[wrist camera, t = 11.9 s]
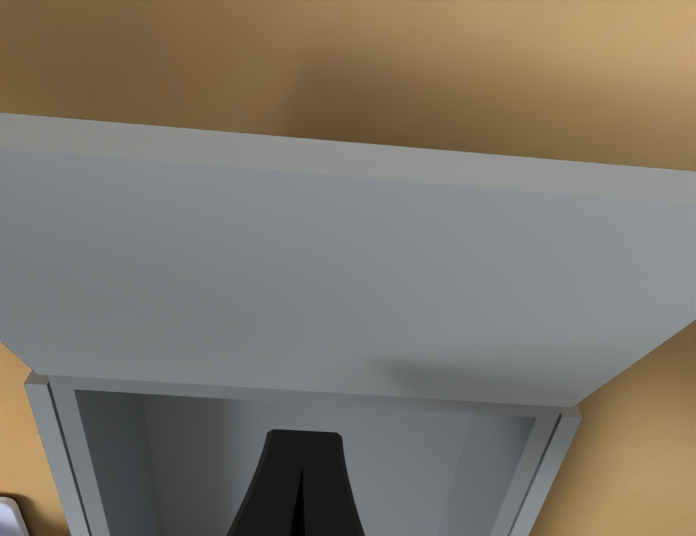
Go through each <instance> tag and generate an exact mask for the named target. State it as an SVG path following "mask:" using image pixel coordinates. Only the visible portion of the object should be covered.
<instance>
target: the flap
mask: <svg viewBox="0 0 696 536" xmlns="http://www.w3.org/2000/svg"><path fill="white" fill-rule="evenodd" d="M695 320H696V171H685V170H674V169H662V168H650V167H638V166H626V165H614V164H603V163H591V162H579V161H567V160H555V159H543V158H532V157H520V156H508V155H496V154H484V153H473V152H461V151H449V150H437V149H425V148H413V147H402V146H390V145H378V144H366V143H354V142H342V141H331V140H319V139H307V138H295V137H283V136H272V135H260V134H248V133H236V132H224V131H212V130H201V129H189V128H177V127H165V126H153V125H141V124H130V123H118V122H106V121H94V120H82V119H71V118H59V117H47V116H35V115H23V114H11V113H0V341H1V342H2V343H3V344H4V345H5V346H7V347H8V348H9V349H10V350H11V351H12V352H13V353H14V354H15V355H17V356H18V357H19V358H20V359H21V360H22V361H23V362H24V363H25V364H27V365H28V366H29V367H30V368H31V369H32V370H33V371H34V372H35V373H37V374H41V375H57V376H73V377H89V378H105V379H121V380H137V381H153V382H170V383H186V384H202V385H218V386H234V387H250V388H266V389H282V390H298V391H314V392H330V393H346V394H362V395H378V396H394V397H410V398H427V399H443V400H459V401H475V402H491V403H507V404H523V405H539V406H555V407H571V408H572V407H573V406H575V405H576V404H578V403H579V402H580V401H582V400H583V399H585V398H586V397H587V396H589V395H590V394H592V393H593V392H595V391H596V390H597V389H599V388H600V387H602V386H603V385H604V384H606V383H607V382H609V381H610V380H611V379H613V378H614V377H616V376H617V375H618V374H620V373H621V372H623V371H624V370H626V369H627V368H628V367H630V366H631V365H633V364H634V363H635V362H637V361H638V360H640V359H641V358H642V357H644V356H645V355H647V354H648V353H650V352H651V351H652V350H654V349H655V348H657V347H658V346H659V345H661V344H662V343H664V342H665V341H666V340H668V339H669V338H671V337H672V336H673V335H675V334H676V333H678V332H679V331H681V330H682V329H683V328H685V327H686V326H688V325H689V324H690V323H692V322H693V321H695Z"/></svg>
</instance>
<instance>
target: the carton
mask: <svg viewBox="0 0 696 536" xmlns="http://www.w3.org/2000/svg"><path fill="white" fill-rule="evenodd" d="M24 386H25V389H26V392H27V396H28V399H29V402H30V405H31V408H32V412H33V415H34V418H35V421H36V424H37V428H38V431H39V434H40V437H41V440H42V444H43V447H44V450H45V453H46V456H47V460H48V463H49V466H50V469H51V472H52V475H53V479H54V482H55V485H56V488H57V491H58V495H59V498H60V501H61V504H62V507H63V511H64V514H65V517H66V520H67V523H68V527H69V530H70V533H71V536H226V535H227V533H228V531H229V529H230V527H231V525H232V523H233V520H234V518H235V516H236V514H237V512H238V510H239V508H240V506H241V503H242V501H243V499H244V497H245V495H246V492H247V490H248V488H249V485H250V483H251V480H252V478H253V475H254V473H255V470H256V468H257V465H258V462H259V459H260V456H261V453H262V450H263V447H264V443H265V439H266V435H267V432H269V431H271V430H272V429H284V430H302V431H321V432H337V433H338V434H339V435H341V436H342V441H343V450H344V456H345V462H346V467H347V472H348V477H349V481H350V485H351V489H352V493H353V497H354V501H355V504H356V508H357V511H358V515H359V518H360V521H361V524H362V527H363V531H364V534H365V536H529V533H530V531H531V529H532V527H533V525H534V523H535V520H536V518H537V516H538V514H539V512H540V510H541V507H542V505H543V503H544V501H545V499H546V497H547V494H548V492H549V490H550V488H551V486H552V484H553V481H554V479H555V477H556V475H557V473H558V471H559V468H560V466H561V464H562V462H563V460H564V458H565V456H566V453H567V451H568V449H569V447H570V445H571V443H572V440H573V438H574V436H575V434H576V432H577V430H578V427H579V425H580V423H581V421H582V419H583V417H582V415H581V413H580V410H579V408H578V406H577V404H576V405H575V406H573V407H572V408H571V407H555V406H539V405H523V404H507V403H491V402H475V401H459V400H443V399H427V398H410V397H394V396H378V395H362V394H346V393H330V392H314V391H298V390H282V389H266V388H250V387H234V386H218V385H202V384H186V383H170V382H153V381H137V380H121V379H105V378H89V377H73V376H57V375H41V374H37V373H35V372H34V371H33V370H32V372H31V373H30V375H29V376H28V378H27V379H26V381H25V382H24Z"/></svg>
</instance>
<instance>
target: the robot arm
mask: <svg viewBox="0 0 696 536" xmlns="http://www.w3.org/2000/svg"><path fill="white" fill-rule="evenodd" d="M0 536H29V533H28V531H27V528H26V526H25V523H24V520H23V518H22V515H21V513H20V510H19V507H18V505H17V503H16V502H15V501H14V500H13V499H11V498H8V497H0ZM226 536H365V534H364V531H363V527H362V524H361V521H360V518H359V515H358V511H357V508H356V504H355V501H354V497H353V493H352V489H351V485H350V481H349V477H348V472H347V467H346V462H345V456H344V450H343V441H342V436H341V435H339V434H338V433H337V432H321V431H302V430H284V429H272V430H271V431H269V432H267V435H266V439H265V443H264V447H263V450H262V453H261V456H260V459H259V462H258V465H257V468H256V470H255V473H254V475H253V478H252V480H251V483H250V485H249V488H248V490H247V492H246V495H245V497H244V499H243V501H242V503H241V506H240V508H239V510H238V512H237V514H236V516H235V518H234V520H233V523H232V525H231V527H230V529H229V531H228V533H227V535H226Z"/></svg>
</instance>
